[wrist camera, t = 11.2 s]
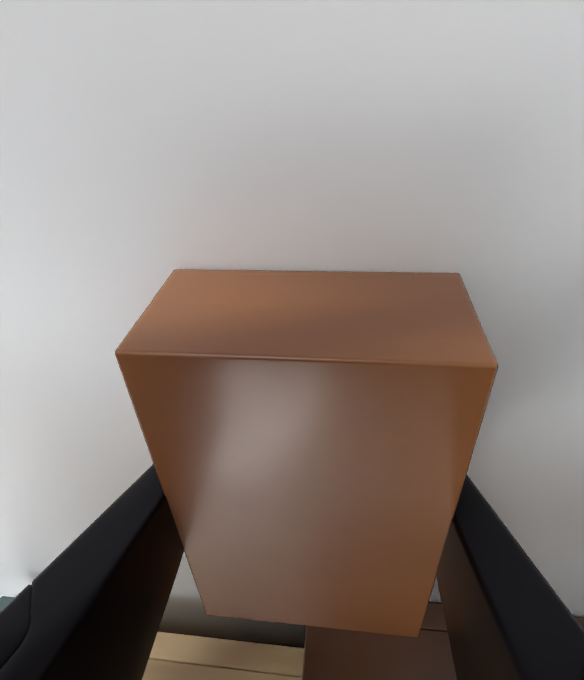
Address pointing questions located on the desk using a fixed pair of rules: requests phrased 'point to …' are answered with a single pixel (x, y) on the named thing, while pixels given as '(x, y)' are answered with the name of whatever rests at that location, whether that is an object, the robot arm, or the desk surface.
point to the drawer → (216, 658)
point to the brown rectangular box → (311, 435)
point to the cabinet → (382, 652)
